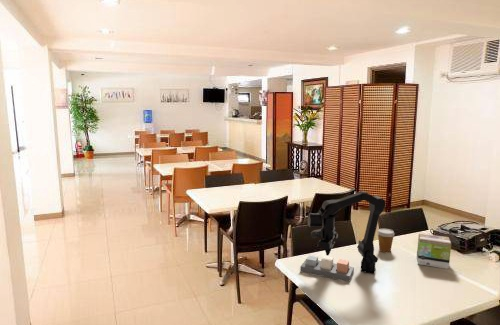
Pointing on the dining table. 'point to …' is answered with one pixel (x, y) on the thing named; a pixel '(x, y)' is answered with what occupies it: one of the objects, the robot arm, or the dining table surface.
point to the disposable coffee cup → (385, 239)
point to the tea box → (433, 251)
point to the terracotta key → (343, 266)
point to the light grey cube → (312, 261)
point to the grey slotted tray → (327, 271)
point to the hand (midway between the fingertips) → (327, 255)
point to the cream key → (327, 263)
